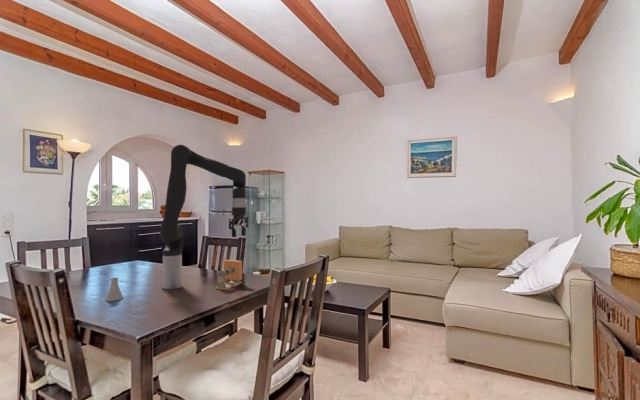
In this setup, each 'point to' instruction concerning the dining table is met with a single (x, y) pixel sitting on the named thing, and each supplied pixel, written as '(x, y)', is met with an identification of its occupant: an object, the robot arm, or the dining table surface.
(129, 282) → the dining table surface
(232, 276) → the orange square plate
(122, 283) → the dining table surface
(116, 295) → the flask
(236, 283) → the pipe stand
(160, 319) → the dining table surface
